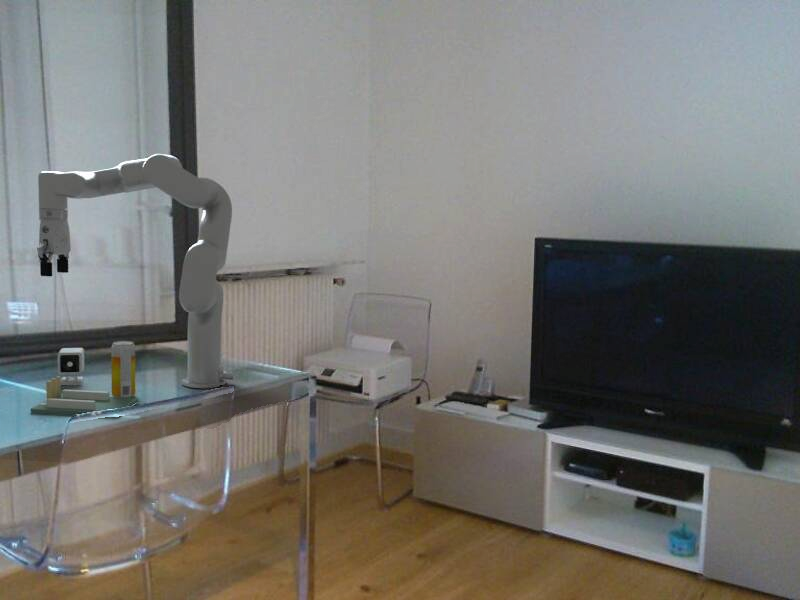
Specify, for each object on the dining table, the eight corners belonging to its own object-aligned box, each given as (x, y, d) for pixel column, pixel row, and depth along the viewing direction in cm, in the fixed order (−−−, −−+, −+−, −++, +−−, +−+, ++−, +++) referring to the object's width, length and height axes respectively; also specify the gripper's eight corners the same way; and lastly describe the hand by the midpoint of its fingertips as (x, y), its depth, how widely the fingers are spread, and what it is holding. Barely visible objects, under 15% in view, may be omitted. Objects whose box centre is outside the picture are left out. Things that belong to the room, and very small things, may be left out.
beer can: (130, 392, 218) (130, 339, 216) (138, 397, 214) (138, 343, 211) (108, 395, 214) (107, 341, 212) (116, 400, 210) (116, 346, 208)
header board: (138, 402, 209) (138, 376, 208) (117, 418, 195) (117, 390, 194) (57, 398, 210) (56, 372, 209) (30, 413, 196) (30, 385, 195)
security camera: (58, 387, 220) (57, 352, 219) (61, 381, 227) (60, 347, 226) (82, 386, 222) (81, 352, 221) (84, 380, 229) (84, 347, 227)
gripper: (51, 216, 216) (53, 278, 219) (79, 214, 233) (80, 271, 236) (25, 215, 217) (26, 277, 219) (55, 213, 234) (56, 270, 236)
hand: (54, 274), depth 227 cm, fingers open, 9 cm apart
